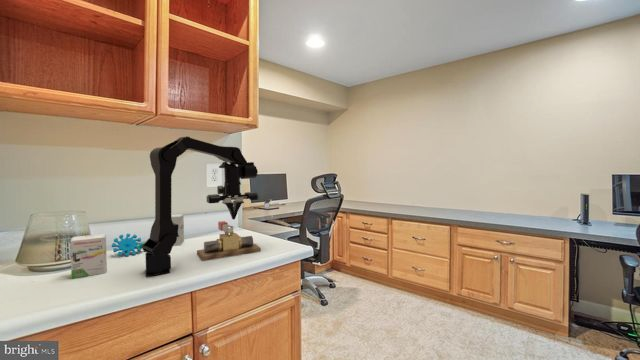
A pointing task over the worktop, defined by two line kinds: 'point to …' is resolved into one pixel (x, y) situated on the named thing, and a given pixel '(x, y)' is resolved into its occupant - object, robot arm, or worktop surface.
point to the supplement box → (180, 221)
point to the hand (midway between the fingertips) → (233, 219)
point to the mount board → (227, 252)
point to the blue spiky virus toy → (127, 245)
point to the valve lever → (225, 227)
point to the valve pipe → (228, 243)
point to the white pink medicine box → (88, 255)
